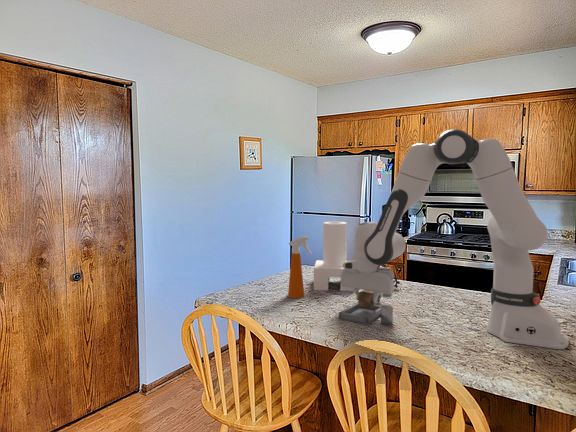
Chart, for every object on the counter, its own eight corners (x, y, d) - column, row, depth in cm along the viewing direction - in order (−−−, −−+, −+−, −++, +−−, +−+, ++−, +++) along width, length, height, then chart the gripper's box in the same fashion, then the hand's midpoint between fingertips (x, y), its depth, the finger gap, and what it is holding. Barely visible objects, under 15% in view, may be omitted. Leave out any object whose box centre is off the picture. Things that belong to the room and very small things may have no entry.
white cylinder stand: (316, 279, 199) (316, 220, 196) (354, 280, 196) (354, 221, 194) (313, 289, 181) (313, 224, 178) (355, 291, 178) (355, 225, 175)
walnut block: (374, 304, 148) (374, 291, 148) (369, 308, 145) (369, 294, 144) (363, 302, 151) (363, 290, 151) (358, 305, 147) (358, 292, 147)
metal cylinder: (394, 323, 137) (394, 306, 137) (390, 326, 134) (390, 309, 134) (383, 320, 140) (383, 304, 139) (378, 324, 136) (379, 307, 136)
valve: (392, 296, 170) (399, 289, 180) (393, 281, 169) (400, 275, 180) (377, 294, 173) (385, 287, 184) (378, 279, 173) (385, 273, 183)
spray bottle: (310, 299, 165) (310, 237, 163) (285, 297, 168) (285, 236, 166) (314, 295, 172) (314, 235, 169) (291, 293, 175) (290, 234, 173)
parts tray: (385, 312, 149) (385, 306, 148) (367, 324, 136) (367, 318, 136) (358, 307, 155) (358, 301, 155) (338, 318, 142) (338, 312, 142)
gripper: (397, 266, 143) (396, 304, 144) (346, 260, 155) (346, 294, 156) (390, 270, 138) (389, 308, 139) (338, 263, 150) (338, 298, 151)
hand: (366, 301), depth 148 cm, fingers closed on walnut block, 4 cm apart
